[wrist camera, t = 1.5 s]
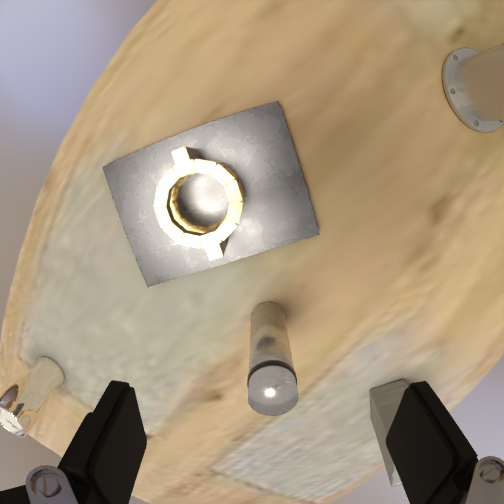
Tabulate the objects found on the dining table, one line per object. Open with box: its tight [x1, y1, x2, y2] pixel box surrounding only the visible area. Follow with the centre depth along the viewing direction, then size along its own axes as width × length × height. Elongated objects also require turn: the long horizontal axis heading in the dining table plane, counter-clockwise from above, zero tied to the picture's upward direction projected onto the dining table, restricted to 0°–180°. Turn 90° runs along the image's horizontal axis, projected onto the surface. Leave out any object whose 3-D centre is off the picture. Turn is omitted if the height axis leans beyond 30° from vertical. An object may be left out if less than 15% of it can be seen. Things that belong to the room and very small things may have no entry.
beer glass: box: [0, 357, 64, 438], centre depth 38 cm, size 7×7×15 cm
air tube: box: [247, 302, 298, 416], centre depth 34 cm, size 5×5×16 cm
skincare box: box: [370, 379, 409, 487], centre depth 38 cm, size 8×7×16 cm
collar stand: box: [103, 101, 320, 287], centre depth 33 cm, size 22×16×8 cm
